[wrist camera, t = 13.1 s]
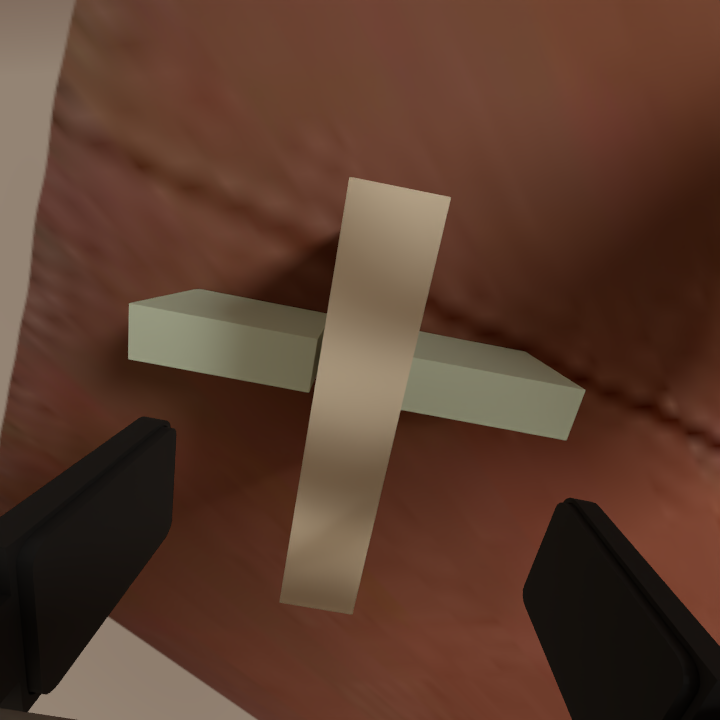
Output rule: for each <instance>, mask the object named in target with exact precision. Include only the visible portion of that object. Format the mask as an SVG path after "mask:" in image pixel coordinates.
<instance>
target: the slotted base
mask: <svg viewBox="0 0 720 720" xmlns="http://www.w3.org/2000/svg"><path fill="white" fill-rule="evenodd" d="M326 317H327V313H322V312H317V311H312V310H306V309H301V308H296V307H291V306H286V305H280V304H275V303H270V302H265V301H260V300H254V299H249V298H244V297H239V296H234V295H228V294H223V293H218V292H213V291H208V290H202V289H194V290H189V291H185V292H180V293H175V294H171V295H166V296H161V297H156V298H152V299H147V300H142V301H138V302H133V303H129V336H128V359H130V360H135V361H141V362H146V363H152V364H157V365H162V366H168V367H173V368H179V369H184V370H189V371H195V372H200V373H205V374H211V375H216V376H222V377H227V378H232V379H238V380H243V381H248V382H254V383H259V384H265V385H270V386H275V387H281V388H286V389H292V390H297V391H302V392H308V393H309V391H310V389H311V387H312V384H313V382H314V380H315V377H316V375H317V371H318V365H319V359H320V353H321V347H322V341H323V335H324V329H325V323H326ZM585 391H586V390H585V389H583V388H582V387H580V386H578V385H577V384H575V383H574V382H572V381H571V380H569V379H567V378H566V377H564V376H563V375H561V374H560V373H558V372H556V371H555V370H553V369H552V368H550V367H549V366H547V365H545V364H544V363H542V362H541V361H539V360H538V359H536V358H534V357H533V356H531V355H530V354H528V353H527V352H525V351H520V350H514V349H509V348H504V347H499V346H494V345H488V344H483V343H478V342H473V341H468V340H462V339H457V338H452V337H447V336H442V335H436V334H431V333H426V332H421V331H419V335H418V339H417V343H416V347H415V352H414V356H413V360H412V364H411V369H410V373H409V377H408V381H407V385H406V390H405V394H404V398H403V402H402V407H401V410H405V411H410V412H415V413H421V414H426V415H431V416H437V417H442V418H448V419H453V420H458V421H464V422H469V423H475V424H480V425H485V426H491V427H496V428H501V429H507V430H512V431H518V432H523V433H528V434H534V435H539V436H545V437H550V438H555V439H561V440H567V438H568V435H569V433H570V430H571V427H572V425H573V422H574V419H575V417H576V414H577V412H578V409H579V406H580V404H581V401H582V398H583V396H584V393H585Z"/></svg>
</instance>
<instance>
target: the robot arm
mask: <svg viewBox="0 0 720 720" xmlns="http://www.w3.org/2000/svg"><path fill="white" fill-rule="evenodd" d="M175 451H176V430H175V429H174V428H170V423H169V422H168V421H165V420H160V419H155V418H149V417H141V418H139V419H137V420H136V421H134V422H133V423H132V424H130V425H129V426H127V427H126V428H125V429H123V430H122V431H120V432H119V433H118V434H116V435H115V436H113V437H112V438H111V439H109V440H108V441H106V442H105V443H104V444H102V445H101V446H99V447H98V448H97V449H95V450H94V451H92V452H91V453H90V454H88V455H87V456H85V457H84V458H83V459H81V460H80V461H78V462H77V463H76V464H74V465H73V466H71V467H70V468H69V469H67V470H66V471H64V472H63V473H62V474H60V475H59V476H57V477H56V478H55V479H53V480H52V481H50V482H49V483H47V484H46V485H45V486H43V487H42V488H40V489H39V490H38V491H36V492H35V493H33V494H32V495H31V496H29V497H28V498H26V499H25V500H24V501H22V502H21V503H19V504H18V505H17V506H15V507H14V508H12V509H11V510H10V511H8V512H7V513H5V514H4V515H3V516H1V517H0V720H75V719H68V718H61V717H55V716H48V715H42V714H35V713H29V712H28V711H29V709H30V708H31V707H32V705H33V704H34V703H35V701H36V700H37V699H38V698H39V696H40V695H41V694H48V693H50V692H51V691H52V690H53V689H54V688H55V687H56V686H57V685H58V684H59V682H60V681H61V680H62V678H63V677H64V675H65V674H66V673H67V671H68V670H69V669H70V667H71V666H72V665H73V663H74V662H75V660H76V659H77V658H78V656H79V655H80V653H81V652H82V651H83V650H84V648H85V647H86V645H87V644H88V643H89V641H90V640H91V639H92V637H93V636H94V635H95V633H96V632H97V630H98V629H99V628H100V626H101V625H102V624H103V622H104V621H105V619H106V618H107V617H108V615H109V614H110V613H111V611H112V610H113V609H114V607H115V606H116V604H117V603H118V602H119V600H120V599H121V598H122V596H123V595H124V594H125V592H126V591H127V589H128V588H129V587H130V585H131V584H132V583H133V581H134V580H135V578H136V577H137V576H138V574H139V573H140V572H141V570H142V569H143V568H144V566H145V565H146V563H147V562H148V561H149V559H150V558H151V557H152V555H153V554H154V553H155V551H156V550H157V548H158V547H159V546H160V544H161V543H162V542H163V540H164V539H165V537H166V536H167V534H168V532H169V529H170V526H171V522H172V508H173V489H174V470H175ZM523 601H524V604H525V607H526V609H527V612H528V614H529V617H530V619H531V622H532V624H533V626H534V629H535V631H536V634H537V636H538V638H539V641H540V643H541V646H542V648H543V650H544V653H545V655H546V658H547V660H548V663H549V665H550V667H551V670H552V672H553V675H554V677H555V679H556V682H557V684H558V687H559V689H560V691H561V694H562V696H563V699H564V701H565V704H566V706H567V708H568V711H569V713H570V716H571V718H572V720H720V646H719V645H718V644H717V643H716V641H715V640H714V639H713V638H712V637H711V636H710V635H709V633H708V632H707V631H706V630H705V629H704V628H703V626H702V625H701V624H700V623H699V622H698V621H697V619H696V618H695V617H694V616H693V615H692V614H691V612H690V611H689V610H688V609H687V608H686V607H685V606H684V604H683V603H682V602H681V601H680V600H679V599H678V597H677V596H676V595H675V594H674V593H673V592H672V590H671V589H670V588H669V587H668V586H667V585H666V583H665V582H664V581H663V580H662V579H661V578H660V577H659V575H658V574H657V573H656V572H655V571H654V570H653V568H652V567H651V566H650V565H649V564H648V563H647V561H646V560H645V559H644V558H643V557H642V556H641V554H640V553H639V552H638V551H637V550H636V549H635V548H634V546H633V545H632V544H631V543H630V542H629V541H628V539H627V538H626V537H625V536H624V535H623V534H622V532H621V531H620V530H619V529H618V528H617V527H616V525H615V524H614V523H613V522H612V521H611V520H610V519H609V517H608V516H607V515H606V514H605V513H604V512H603V510H602V509H601V508H600V507H599V506H598V505H597V504H596V503H593V502H589V501H584V500H579V499H574V498H568V499H566V500H565V501H564V502H563V503H559V504H558V505H557V506H556V508H555V511H554V513H553V516H552V518H551V521H550V523H549V526H548V528H547V531H546V533H545V536H544V538H543V540H542V543H541V545H540V548H539V550H538V553H537V555H536V558H535V560H534V563H533V565H532V568H531V570H530V573H529V575H528V578H527V580H526V583H525V585H524V588H523Z"/></svg>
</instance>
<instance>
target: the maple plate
mask: <svg viewBox="0 0 720 720" xmlns="http://www.w3.org/2000/svg"><path fill="white" fill-rule="evenodd" d="M450 200H451V197H447V196H442V195H437V194H432V193H427V192H422V191H417V190H412V189H407V188H402V187H397V186H392V185H387V184H382V183H377V182H373V181H368V180H363V179H358V178H353V177H349V183H348V189H347V196H346V202H345V208H344V214H343V220H342V226H341V232H340V238H339V244H338V250H337V256H336V262H335V268H334V274H333V280H332V286H331V293H330V299H329V305H328V311H327V317H326V323H325V329H324V335H323V341H322V347H321V353H320V359H319V365H318V371H317V377H316V384H315V390H314V396H313V402H312V408H311V414H310V420H309V426H308V432H307V438H306V444H305V450H304V456H303V462H302V468H301V474H300V481H299V487H298V493H297V499H296V505H295V511H294V517H293V523H292V529H291V535H290V541H289V547H288V553H287V559H286V565H285V571H284V578H283V584H282V590H281V596H280V603H286V604H292V605H298V606H304V607H309V608H315V609H321V610H327V611H333V612H339V613H345V614H351V615H352V613H353V609H354V605H355V601H356V597H357V592H358V588H359V584H360V580H361V575H362V571H363V567H364V563H365V559H366V554H367V550H368V546H369V542H370V537H371V533H372V529H373V525H374V521H375V516H376V512H377V508H378V504H379V499H380V495H381V491H382V487H383V483H384V478H385V474H386V470H387V466H388V461H389V457H390V453H391V449H392V445H393V440H394V436H395V432H396V428H397V423H398V419H399V415H400V411H401V407H402V402H403V398H404V394H405V390H406V385H407V381H408V377H409V373H410V369H411V364H412V360H413V356H414V352H415V347H416V343H417V339H418V335H419V331H420V326H421V322H422V318H423V314H424V309H425V305H426V301H427V297H428V293H429V288H430V284H431V280H432V276H433V271H434V267H435V263H436V259H437V255H438V250H439V246H440V242H441V238H442V233H443V229H444V225H445V221H446V217H447V212H448V208H449V204H450Z"/></svg>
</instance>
